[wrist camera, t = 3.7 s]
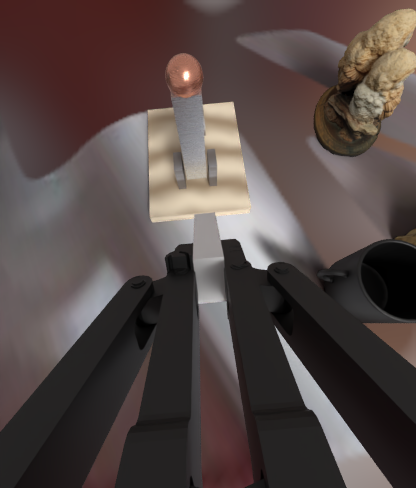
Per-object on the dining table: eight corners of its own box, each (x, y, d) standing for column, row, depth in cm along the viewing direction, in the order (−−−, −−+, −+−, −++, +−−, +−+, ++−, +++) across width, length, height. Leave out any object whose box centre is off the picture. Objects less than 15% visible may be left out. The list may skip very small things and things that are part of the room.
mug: (308, 249, 37) (336, 227, 29) (389, 265, 36) (443, 247, 27) (302, 310, 34) (331, 306, 26) (389, 330, 33) (450, 332, 25)
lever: (208, 179, 36) (203, 69, 21) (185, 181, 36) (162, 73, 21) (206, 159, 38) (200, 41, 22) (183, 161, 38) (161, 45, 22)
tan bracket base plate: (249, 212, 39) (256, 189, 32) (152, 222, 39) (139, 200, 32) (232, 110, 46) (235, 73, 39) (150, 118, 46) (139, 82, 39)
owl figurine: (378, 168, 42) (481, 69, 25) (309, 158, 43) (365, 59, 27) (377, 91, 47) (460, -31, 31) (315, 84, 48) (365, -36, 32)
